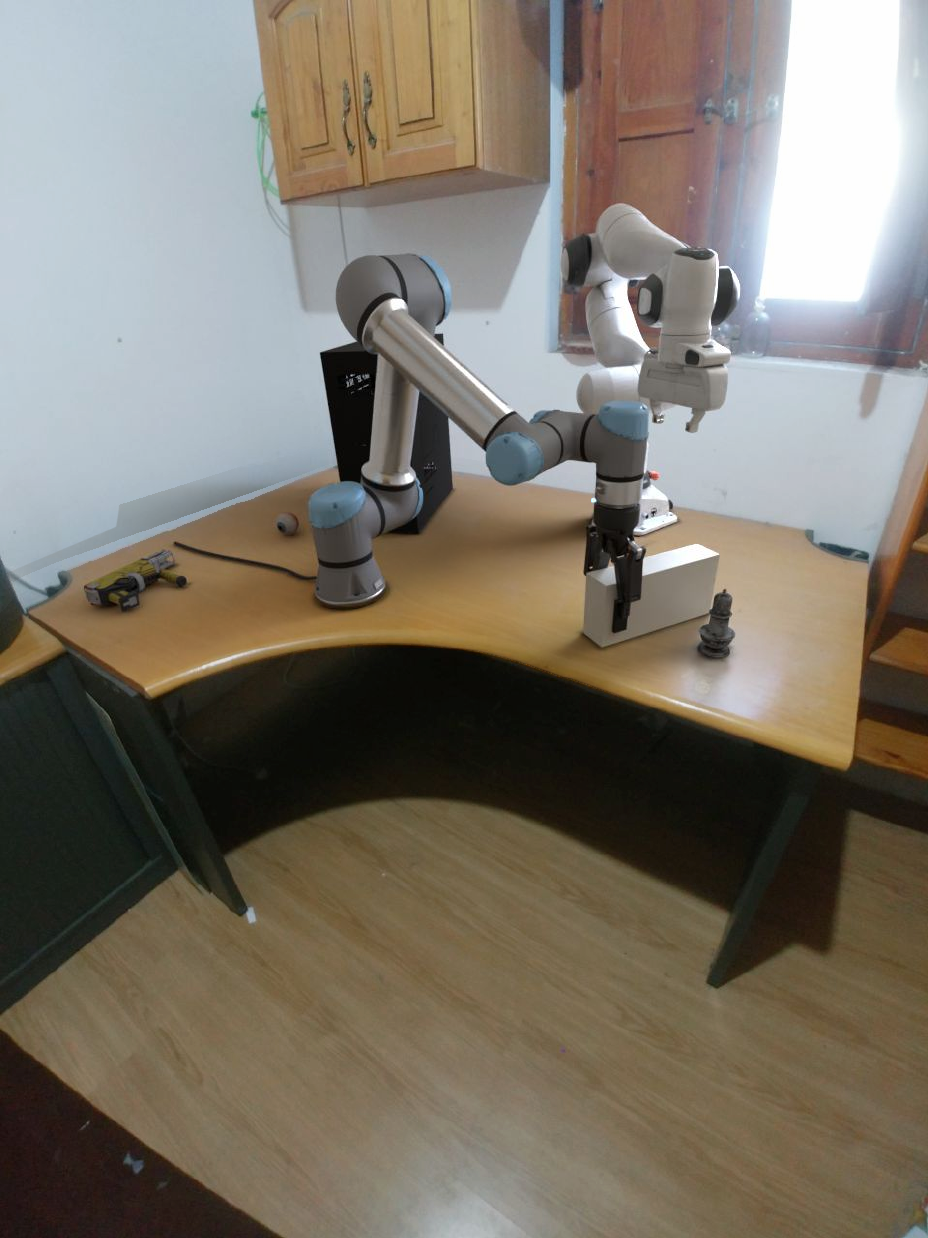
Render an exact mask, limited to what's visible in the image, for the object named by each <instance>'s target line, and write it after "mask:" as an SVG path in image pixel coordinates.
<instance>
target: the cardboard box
mask: <svg viewBox="0 0 928 1238" xmlns="http://www.w3.org/2000/svg"><path fill="white" fill-rule="evenodd" d="M434 338H435V339H436V340H437V341H438V342H440V343H441V344H442V345H443V346H444V347H445V341H444V333H443V332H442V333H435V336H434ZM319 358H320V364H321V370H322V377H323V383H324V388H325V396H326V401H327V408H328V415H329V421H330V427H331V434H332V440H333V446H334V453H335V458H336V459H335V460H336V465H337V471H338V478H339V482H343V481H352V482H357V483H359V484H360V483H361V472H362V466H363V465H364V464H365V463H366V462H368V461H369V460H370V449H371V436H372V423H373V410H374V397H375V384H376V372H377V359H378V354H371V353H369V352H368V351H366V350H365V349H364V348H363V347H362V346H361V345H360V344H359V343H358V342H357V341H356V340H355V341H354V342H349V343H347V344H343V345H339V346H336V347H333V348H330V349H326V350H323V351H320V352H319ZM450 437H451V435H450V419H449V418H448V417H447V416H446V415H445V414H444V413H443V412H442V411H441V410H440V409H439V408H438V407H436V406H435V405H434V404H433V403H432V402H431V401H430V400H429V399H428V398H427V397H426V396H425V395H424V394H422V393H421V392H420V391H419V397H418V405H417V413H416V421H415V429H414V437H413V445H412V454H411V462H410V466H411V467H412V469H413V470H414V471H415V473H416V478H417V479H418V480H419V482H420V485H419V487H420V488H422V491H423V503H422V507H421V509H420V511H419V513H418V514H417V516H416V517H415V518H413V519H412V520H410V521H409V522H408V523H406V524H404V525H403V526H400V527H397V528H395V529H393V530H391V531H388V532H387V533H390V534H391V533H393V534H413V535H415V534H416V535H418V534H420V533H421V532H422V530H423V529H424V527H425V526H427V523H428V522H429V521H430V520H431V518H432V517H433V515H434V514H435V513H436V512H437V510H438V509H439V508H440V507H441V505H442V504H443V502H444V501H445V500H446V499H447V498H448V496H449V495H450V494H451V492H452V491H453V489H454V484H453V468H452V454H451V453H452V451H451V438H450Z"/></svg>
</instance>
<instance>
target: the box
mask: <svg viewBox="0 0 928 1238" xmlns="http://www.w3.org/2000/svg"><path fill="white" fill-rule="evenodd" d="M720 556H721V554H720V553H718V552H716V551H714V550H712V549H709V548H708V547H705V546H703V545H701V544H699V543H694V544H690V545H686V546H682V547H678V548H675V549H670V550H666V551H664V552H663V551H662V552H660V553H656V554H653V555H652V554H651V555H648V556H644V559H643V570H642V588H641V599H640V600H638V601H635V602H631V607H630V615H629V617H628V621H627V630H624V631H621V632H618V633H613V632H612V623H613V611H614V600H615V599H618V595H617V587H616V578H615V570H614V565H610V566H608V567H607V568H604V569H600V570H596V571H592V572H588V573H586V576H585V591H584V605H583V606H584V607H583V624H582V625H583V626H582V633H583V634H584V635H585V636H586V637H588V638H589V639H590V640H591V641H593V642H594V643H595V644H597V646H599V647H600V648H606V647H609V646H611V645H615V644H618V643H620V642H624V641H627V640H630V639H633V638H636V637H639V636H643V635H646V634H649V633H652V632H655V631H658V630H662V629H664V628H668V627H671V626H674V625H677V624H680V623H683V622H687V621H690V620H693V619H696V618H698V617H702V616H705V615H708V614H710V613H709V611H710V609H712V608H711V607H712V603H713V598H714V597H713V595H714V591H715V584H716V580H717V574H718V569H719V562H720Z"/></svg>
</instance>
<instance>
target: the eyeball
mask: <svg viewBox="0 0 928 1238" xmlns="http://www.w3.org/2000/svg"><path fill="white" fill-rule="evenodd" d="M299 525H300V522H299V519H298V517H297V516H296V515H295V514H294V513H292V512H287V511H286V512H282V513H280V514H279V515H278V516H277V517H276V520H275V527H276V529H277V530H278V531H279V532H280V533H281V534H282V535H285V536H286V535H287V536H289V535H293V534H295V533H296V532H297V531H298V529H299Z"/></svg>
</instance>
